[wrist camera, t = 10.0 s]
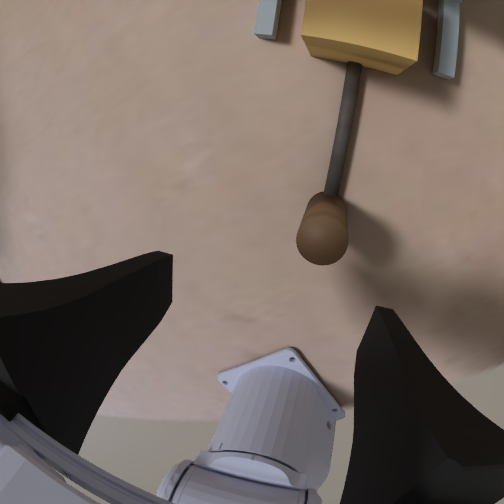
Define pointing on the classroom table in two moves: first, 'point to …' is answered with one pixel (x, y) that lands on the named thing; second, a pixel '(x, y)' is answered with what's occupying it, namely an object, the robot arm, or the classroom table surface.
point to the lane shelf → (444, 41)
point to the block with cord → (351, 94)
